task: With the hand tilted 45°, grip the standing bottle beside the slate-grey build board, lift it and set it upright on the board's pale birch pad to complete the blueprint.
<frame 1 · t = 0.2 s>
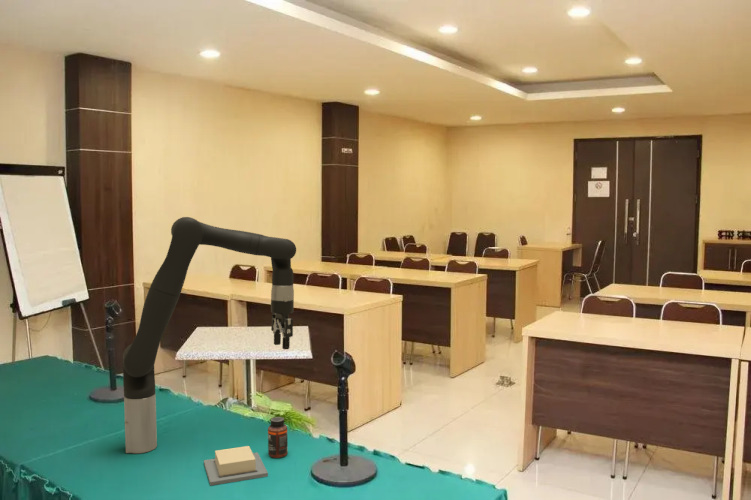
hand: (281, 346, 212), 29 cm above the table, tool pointing down, fingers open, 8 cm apart
supplement bottle: (277, 455, 195), on the table
build board: (235, 469, 184), on the table
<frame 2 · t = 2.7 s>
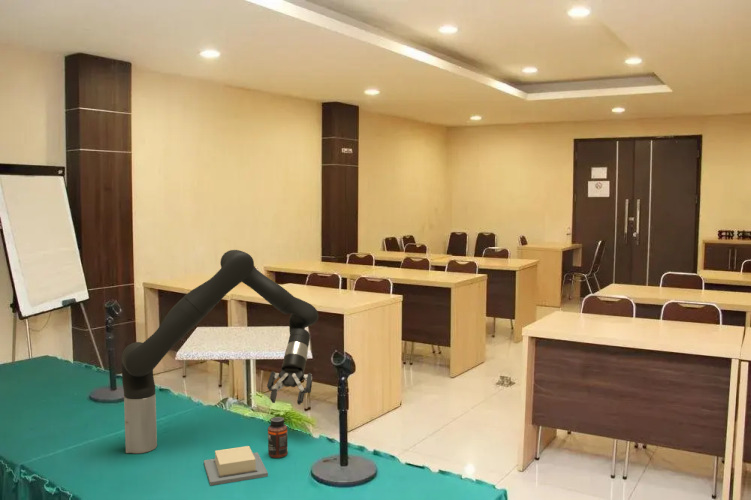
hand: (285, 402, 203), 13 cm above the table, tool tilted 45°, fingers open, 8 cm apart
nothing on the table moved.
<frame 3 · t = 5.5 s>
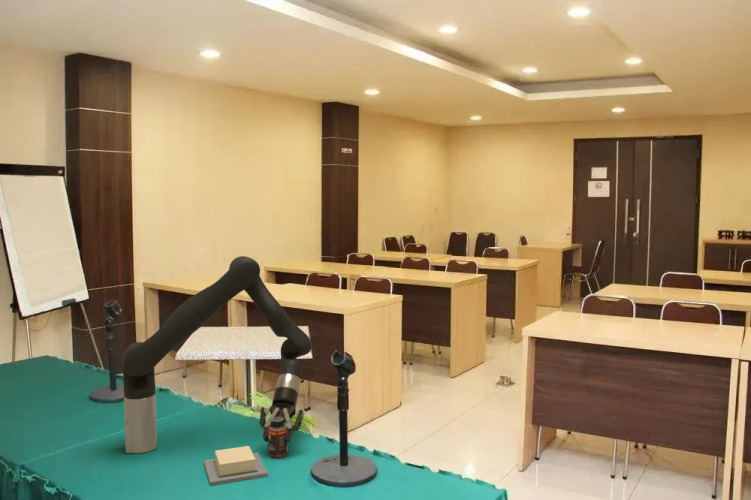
hand: (276, 441, 193), 5 cm above the table, tool tilted 45°, fingers closed on supplement bottle, 6 cm apart
supplement bottle: (277, 455, 195), on the table, touching gripper
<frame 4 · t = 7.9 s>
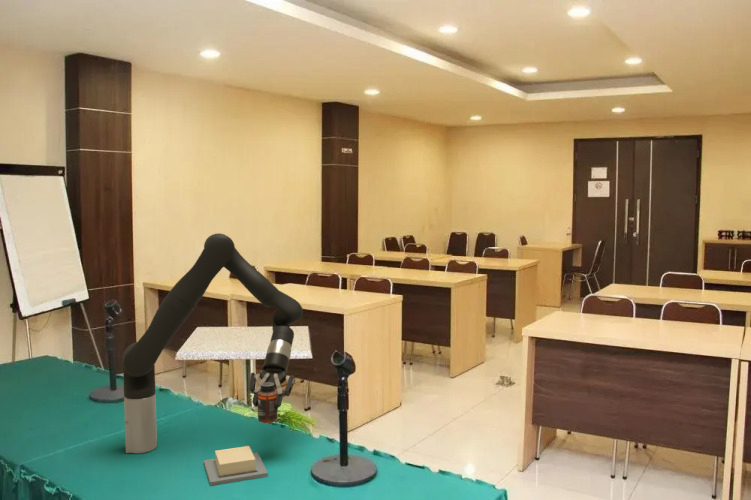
hand: (265, 406, 190), 17 cm above the table, tool tilted 45°, fingers closed on supplement bottle, 6 cm apart
supplement bottle: (267, 420, 192), point 11 cm above the table, touching gripper
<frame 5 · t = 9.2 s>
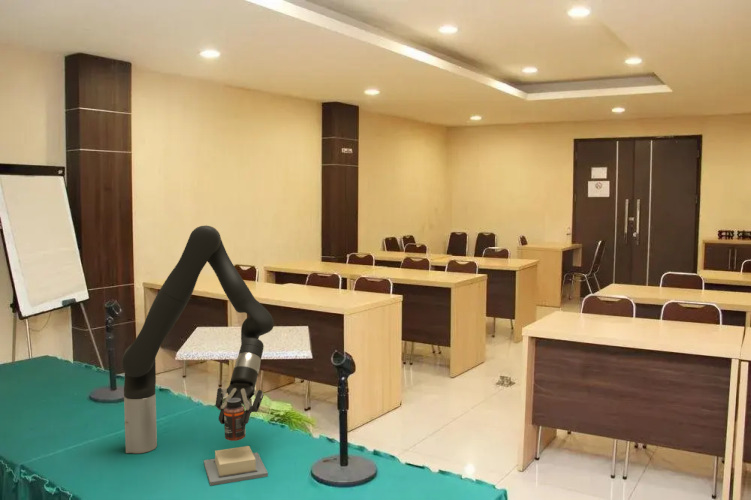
hand: (232, 423, 181), 15 cm above the table, tool tilted 45°, fingers closed on supplement bottle, 6 cm apart
supplement bottle: (235, 438, 184), point 9 cm above the table, touching gripper
when the fingers open (11 cm above the table, at t = 10.3 s): supplement bottle drops 1 cm, resting on build board.
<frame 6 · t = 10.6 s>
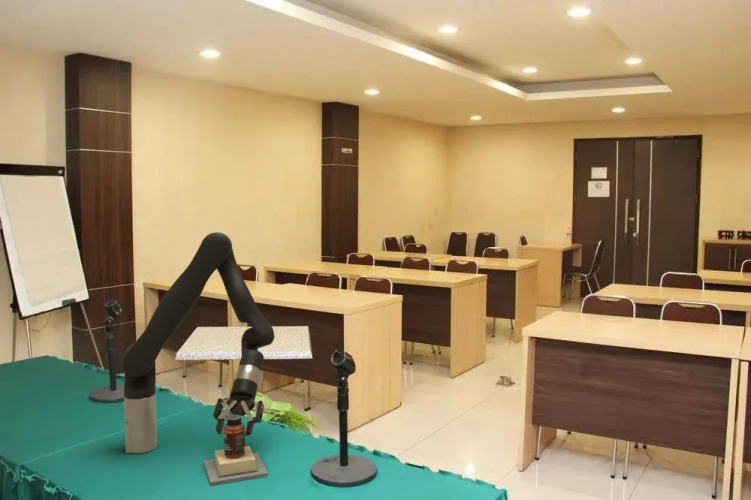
hand: (232, 434, 182), 11 cm above the table, tool tilted 45°, fingers open, 8 cm apart
supplement bottle: (234, 455, 184), point 4 cm above the table, touching build board
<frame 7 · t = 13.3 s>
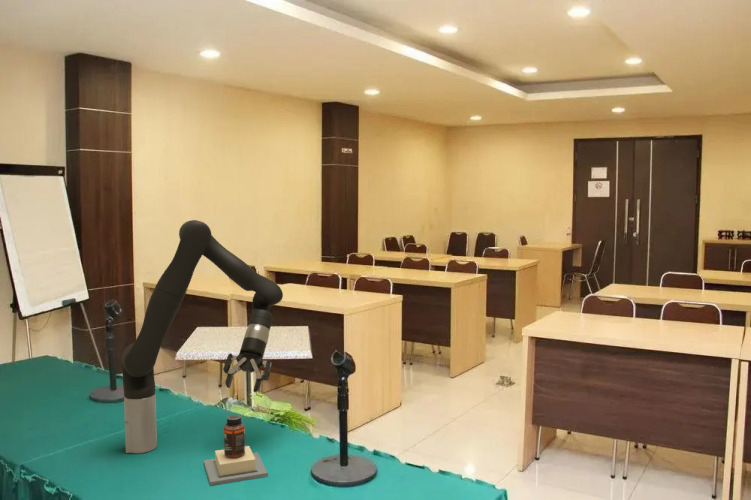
hand: (241, 389, 195), 20 cm above the table, tool tilted 40°, fingers open, 8 cm apart
nothing on the table moved.
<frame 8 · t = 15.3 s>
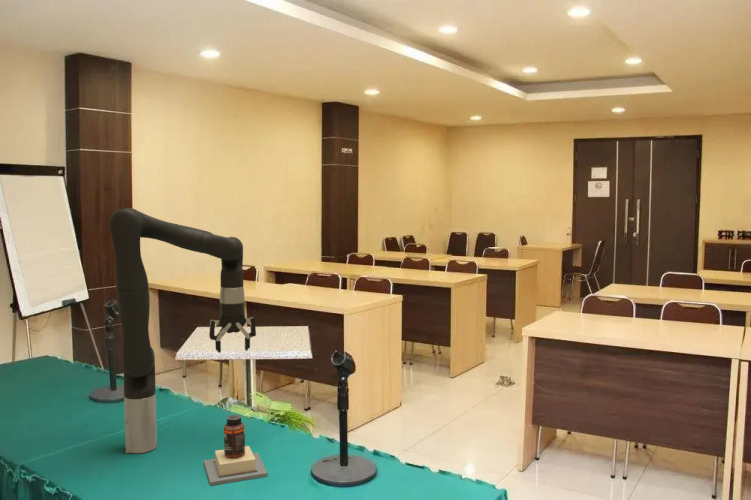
hand: (233, 351, 201), 30 cm above the table, tool pointing down, fingers open, 8 cm apart
nothing on the table moved.
at the end: supplement bottle 0.2 cm off-centre on the build board, point 4.3 cm above the build board's base; supplement bottle tilted 0°; the gripper is holding nothing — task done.
